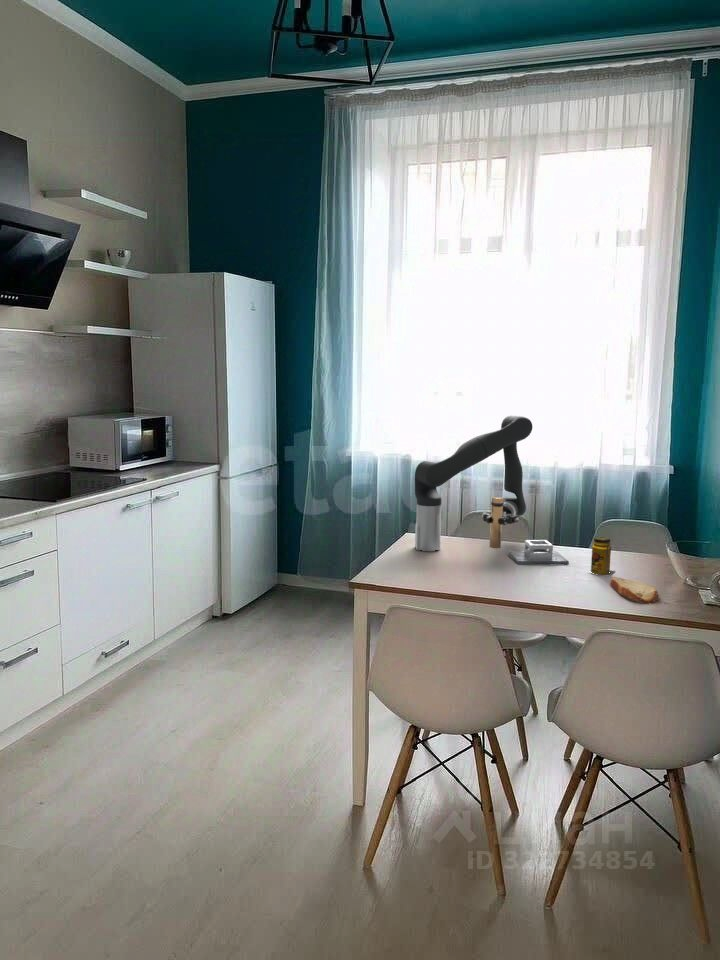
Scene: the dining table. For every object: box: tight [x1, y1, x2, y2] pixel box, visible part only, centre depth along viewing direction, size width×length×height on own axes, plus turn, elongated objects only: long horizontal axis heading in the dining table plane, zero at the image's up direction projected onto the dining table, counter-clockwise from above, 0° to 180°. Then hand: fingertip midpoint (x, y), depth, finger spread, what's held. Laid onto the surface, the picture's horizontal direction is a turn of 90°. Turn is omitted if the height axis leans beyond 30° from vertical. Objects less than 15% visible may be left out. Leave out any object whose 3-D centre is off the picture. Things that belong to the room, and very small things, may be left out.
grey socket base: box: [508, 539, 570, 565], centre depth 265 cm, size 18×14×6 cm
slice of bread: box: [609, 577, 660, 605], centre depth 226 cm, size 18×18×4 cm
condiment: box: [589, 536, 616, 577], centre depth 249 cm, size 7×8×12 cm
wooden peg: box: [489, 496, 504, 549], centre depth 265 cm, size 4×4×18 cm
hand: (494, 521), depth 262 cm, fingers closed on wooden peg, 4 cm apart
